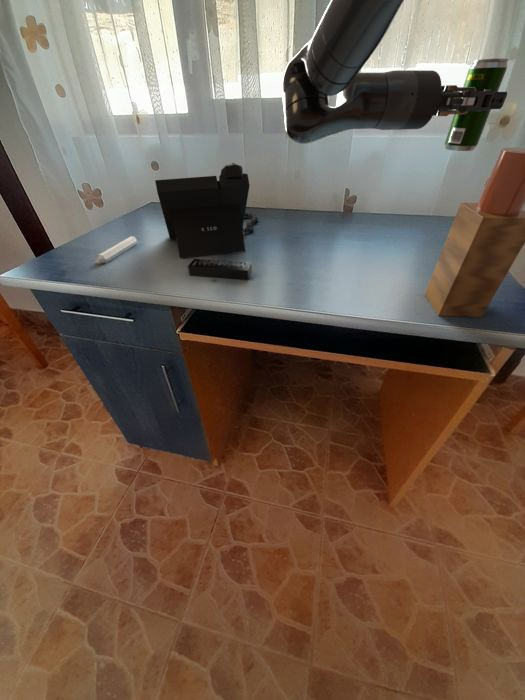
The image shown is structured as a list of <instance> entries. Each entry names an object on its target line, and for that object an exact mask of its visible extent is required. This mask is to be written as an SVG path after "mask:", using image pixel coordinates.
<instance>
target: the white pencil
mask: <svg viewBox="0 0 525 700" xmlns="http://www.w3.org/2000/svg"><path fill="white" fill-rule="evenodd" d="M137 244H138V239H137V238H136V237H135V236H131V235H130V236H129V237H126V238H125V239H124V240H122V241H119V242H118V243H116V244H115V245H113V246H112V247H109V248H108V249H106V250H104V251H102V252H100V253H99V254H98V256H97V259H96V261H95V262H94V265H98V264H107V263H108V262H110V261H112V260H114V259H115V258H117V257H118V256H120V255H121V254H123V253H125V252H126V251H128V250H130V249H132V248H133V247H134V246H137Z"/></svg>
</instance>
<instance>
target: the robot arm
mask: <svg viewBox="0 0 525 700" xmlns="http://www.w3.org/2000/svg"><path fill="white" fill-rule="evenodd" d="M404 1H405V0H330V2H329V4H328V5H327V7H326V10H325V11H324V13H323V15H322V17H321V19H320V21H319V23H318V25H317V27H316V30H315V31H314V34H313V35H312V37H311V39H310V40H309V41H308V42H307V43H306V44H305V45H304V46H303V47H302V48H301V49H300V51H299V52H298V53H297V54H296V55H295V56H294V57H292V58H291V60H290V61H288V63H287V65H286V67H285V70H284V72H283V76H282V81H281V94H282V105H283V115H284V127H285V128H284V129H285V132H286V135H287V137H288V138H289V139H290V140H291V141H293V142H294V143H297V144H301V145H307V144H311V143H314V142H316V141H319V140H322V139H324V138H326V137H329V136H332V135H336V134H339V133H342V132H345V131H349V130H371V129H372V130H380V131H398V130H399V131H401V130H403V131H404V130H405V131H406V130H420V129H422V128H424V127H425V126H426V125H428V123H429V122H431V119H432V118H433V117H434V116H436V117H447V116H449V115H454V114H466V113H467V112H470V111H477V112H480V111H481V112H485V111H488V109H491V110H500V109H502V108H503V107H504V104H505V101H506V99H507V96H508V92H507V91H498V92H495V91H493V90H489V91H488V90H484V91H476V89H475V87H463V86H458V85H457V84H448V85H447V84H446V85H442V79H441V76H440V74H439V73H438V71H435V70H422V69H421V70H416V69H415V70H414V69H413V70H409V69H408V70H407V69H406V70H404V69H403V70H399V69H397V70H390V71H384V72H360V71H361V69H362V68H363V67H364V66H365V64H366V63H367V62H368V60H369V59H370V58H371V57H372V55H373V54H374V52H375V51H376V49H377V48H378V47H379V46H380V44H381V43H382V41H383V40H384V38H385V36H386V35H387V33H388V31H389V29H390V28H391V26H392V25H393V23H394V20H395V18H396V17H397V15H398V12H399V11H400V9H401V7H402V5H403V3H404ZM462 91H464V94H463V93H462ZM336 95H337V98H336V104H335V106H330V103H329V102H330V99H329V97H332V96H333V97H334V96H336ZM460 105H461V106H460ZM456 109H459V110H456Z"/></svg>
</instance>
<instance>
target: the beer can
mask: <svg viewBox="0 0 525 700" xmlns="http://www.w3.org/2000/svg"><path fill="white" fill-rule="evenodd" d="M508 62H509V58H483V59H475V60H473V61H472V64H471V66H470V67H469V69H468V71H467V75H466V78H465V81H464V83H463V86H462V87H475V89H476V91H484V90H488V91H489V90H493V91H495V92H499V90H500V88H501V85H502V83H503V79H504V77H505V75H506V72H507V69H508ZM461 92H462V93H463V94H464V91H461ZM460 106H461V105H460ZM456 110H459V109H456ZM491 110H492V109H488V111H485V112H481V111H480V112H477V111H470V112H467V113H466V114H453V117H452V121H451V123H450V126H449V129H448V133H447V136H446V139H445V142H444V149H445V150H447V151H455V152H472V151H474V150H475V149H476V147H477V146H478V145H479V142H480V139H481V137H482V134H483V132H484V129H485V127H486V123H487V122H488V119H489V116H490V114H491Z"/></svg>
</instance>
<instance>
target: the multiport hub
mask: <svg viewBox="0 0 525 700" xmlns="http://www.w3.org/2000/svg"><path fill="white" fill-rule="evenodd" d="M187 269H188V275H189V276H191V277H202V278H203V277H204V278H218V279H231V280H243V281H247V280H250V277H251V275H252V272H253V263H252V262H250V261H249V262H248V261H233V260H232V261H231V260H219V259H205V258H193V259H192V260H191V261H190V262H189V264H188V265H187Z"/></svg>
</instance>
